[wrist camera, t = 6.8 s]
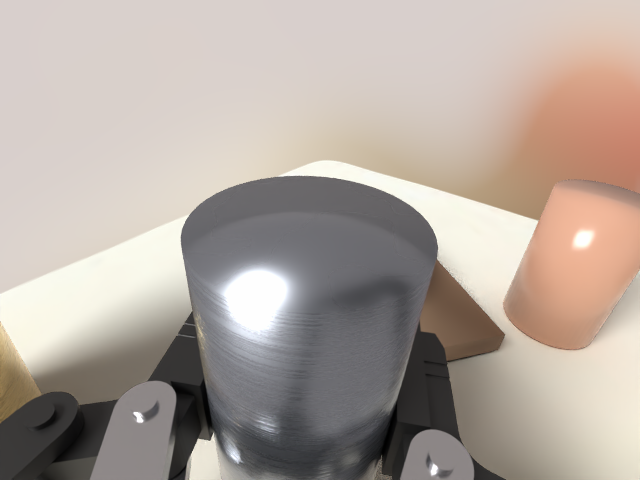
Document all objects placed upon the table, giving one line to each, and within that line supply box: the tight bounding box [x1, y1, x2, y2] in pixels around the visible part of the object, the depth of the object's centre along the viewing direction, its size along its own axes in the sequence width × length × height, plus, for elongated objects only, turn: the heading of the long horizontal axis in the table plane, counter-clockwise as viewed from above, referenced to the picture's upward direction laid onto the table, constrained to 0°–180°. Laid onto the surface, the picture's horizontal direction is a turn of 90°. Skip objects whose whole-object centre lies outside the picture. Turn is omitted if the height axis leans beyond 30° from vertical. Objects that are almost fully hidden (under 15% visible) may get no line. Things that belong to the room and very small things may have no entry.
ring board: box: [420, 259, 505, 361], centre depth 23 cm, size 14×14×4 cm
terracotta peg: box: [503, 180, 640, 349], centre depth 21 cm, size 5×5×8 cm
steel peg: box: [181, 176, 438, 480], centre depth 10 cm, size 4×4×12 cm
